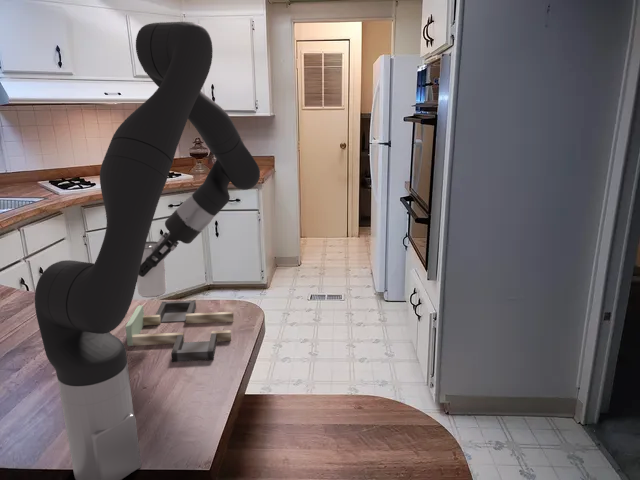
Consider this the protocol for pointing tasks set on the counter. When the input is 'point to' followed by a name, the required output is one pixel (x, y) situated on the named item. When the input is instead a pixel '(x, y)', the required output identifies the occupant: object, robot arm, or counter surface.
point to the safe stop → (135, 324)
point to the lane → (181, 349)
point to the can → (152, 276)
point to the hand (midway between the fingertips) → (143, 268)
